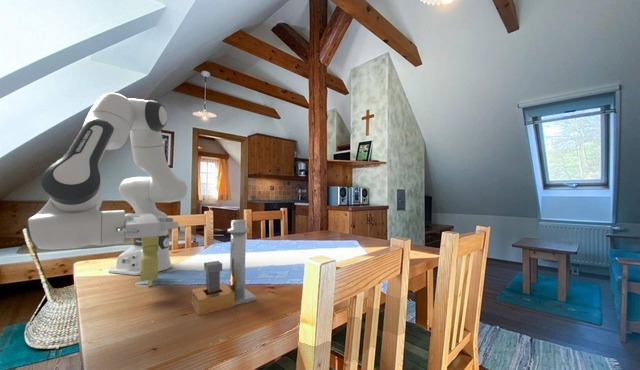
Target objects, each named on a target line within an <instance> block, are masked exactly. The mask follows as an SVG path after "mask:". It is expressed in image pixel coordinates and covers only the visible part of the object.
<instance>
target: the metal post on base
mask: <svg viewBox="0 0 640 370" xmlns="http://www.w3.org/2000/svg"><path fill="white" fill-rule="evenodd" d="M246 225H247V220H246V219H231V220H230V228H227V232H226V233H228V234H230V247H229V248H230V249H229V250H230V251H229V252H230V253H229V254H230V258H229V259H230V260H229V261H230V263H229V270H230V271H229V286H228V285H227V284H226V283H225V282H223V283H220V292H219V293H215V294H210V295H206V286H203V287H198V288H193V289H191V300H190V301H191V305H192V306H193V308H194V310H195V312H196V314H197V315H198V316H202V315H208V314H211V313H215V312H219V311H223V310H226V309H230V308H233V307H235V306H237V305H242V304H246V303H249V302H252V301H256V300H257V296H256V295H254V294H253V293H252V292H251V291H249V290H248V289H247V288H246V239H247V238H246V237H247V236H246V233H249V232H250V228H249V227H247V226H246Z"/></svg>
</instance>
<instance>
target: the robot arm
mask: <svg viewBox="0 0 640 370" xmlns="http://www.w3.org/2000/svg"><path fill="white" fill-rule="evenodd" d="M167 114H168V113H167V111H166V108H165V106H164V105H163V104H162V103H161V102H159V101H156V100H152V99H149V100H145V99H141V98H127V97H126V96H124V95H122V94H121V93H115V92H109V93H105V94H103V95H102V96H100V97H99V99H97V100H96V101H95V102H94V104H93V105H92V107H91V108H90V110H89V111H88V114H87V116H86V117H85V120H84V122H83V125H82V128H80V131H79V132H78V134H77V135H76V137H75V139H74V140H73V142H72V143H71V145H70V147H69V148H68V150H67V151H66V153H65V154H64V155H63V156H62V157H61V158H59V159H58V160H57V161H55V162H54V163H52V164H51V165H50V166H48V167H47V168H46V169H45V170H44V171H43V174H42V175H41V178H40V179H41V180H40V183H41V187H42V189H43V191H44V192H45V193H46V194H47V195H48V197H49V199H48V200H47V202H46V203H45V205H44V206H43V207H42V208H41V209H40V210H39V211H37V212H36V213H35V214H34V215H33V216H30V217H28V219H27V222H26V230H27V231H26V232H27V236H28V239H29V241H30V243H31V244H32V245H33V246H34V247H35V248H37V249H41V250H63V249H76V248H79V249H80V248H82V247H86V246H90V245H94V246H95V245H96V246H105V245H106V246H107V245H116V244H124V243H125V239H131V240H130V241H131V242H133V241H134V242H133V243H132V245H131V246H130V247H129V248H127V249H126V250H124V251H123V252H122V253H120V254H119V255H118V257H117V259H116V263H115V266H113V267H111V268H109V269H108V273H111V274H112V273H113V274H121V275H130V276H131V275H132V276H140V272H141V258H142V257H143V256H144V253H143V250H142V237H155V236H159V241H158V251H157V255H158V272H162V271H165V270H169V269H170V268H172V266H173V264H172V263H171V262H172V261H171V257H170V252H169V246H170V233H169V230H176V229H178V228H179V222H178V221H174V218H173V217H168V215H167V213H165V212H163V211H161V210H159V209H158V208H157V206H156V203H174V202H175V203H176V202H180V201H183V200H184V199H185V198H186V196H187V194H188V185H187V182H186V181H184V179H182V178H180V177H178V175H176V174H175V173H174V172H173V170H172V169H171V168H170V166H169V164H168V162H167V158H166V153H165V145H164V138H163V135H162V131H161V130H162V129H164V127H166V125H167V123H168V122H167V121H168V115H167ZM129 137H130V146H131V152H132V158H133V162H134V165H135V166H136V167H137V168H139V169H140V170H142V171H144V172H146V173H147V174H148V175H149V176H134V177H127V178H124V179H123V180H122V181H121V183H120V184H119V187H118V193H119V195H120V197H121V199H123V200H124V201H125V202H127V204H129V205H130V207H132V209H133V211H134V212H135V213H134V212H133V213H131V212H130V213H129V212H128V213H126V210H124V209H116V210H113V209H112V210H100V209H101V206H102V204H103V203H102V202H103V198H102V197H103V195H102V190H101V174H100V171H99V170H100V169H99V164H100V162H101V160H102V158H103V157H104V156H103V155H104V153H105V152H106V151H107V150H108V151H112V150H117V149H121V148H122V147H123V146H124V144H126V141H127V140H128V139H129Z"/></svg>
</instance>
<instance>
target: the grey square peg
mask: <svg viewBox="0 0 640 370" xmlns="http://www.w3.org/2000/svg"><path fill="white" fill-rule="evenodd" d="M203 270H204V271H205V272H206V274H205V275H206V277H205V287H206V295H210V294H215V293H219V292H220V284H221V283H220V282H221V281H220V279H221V278H220V277H221V271H223V263H222V262H220V261H219V260H215V261H214V260H213V261H206V262H204V263H203Z"/></svg>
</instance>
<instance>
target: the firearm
mask: <svg viewBox="0 0 640 370" xmlns="http://www.w3.org/2000/svg"><path fill="white" fill-rule="evenodd" d="M158 241H159V236H155V237H142V250H143V253H144V256H143V257H142V258H141V272H140V275H139V277H140V282H147V281H148V284H147V285H148V288H149V287H153V280H154V281H155V280H159V271H158V255H157V251H158Z"/></svg>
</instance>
